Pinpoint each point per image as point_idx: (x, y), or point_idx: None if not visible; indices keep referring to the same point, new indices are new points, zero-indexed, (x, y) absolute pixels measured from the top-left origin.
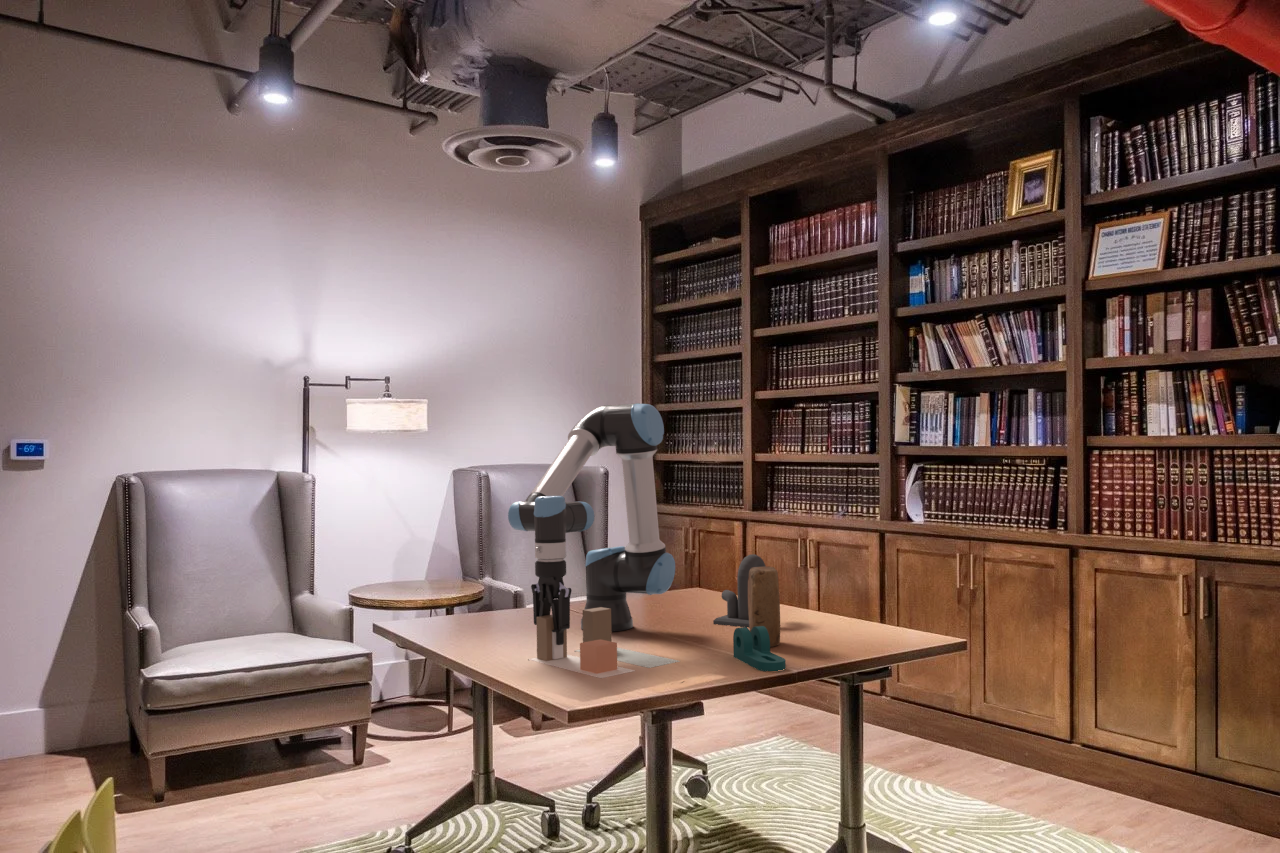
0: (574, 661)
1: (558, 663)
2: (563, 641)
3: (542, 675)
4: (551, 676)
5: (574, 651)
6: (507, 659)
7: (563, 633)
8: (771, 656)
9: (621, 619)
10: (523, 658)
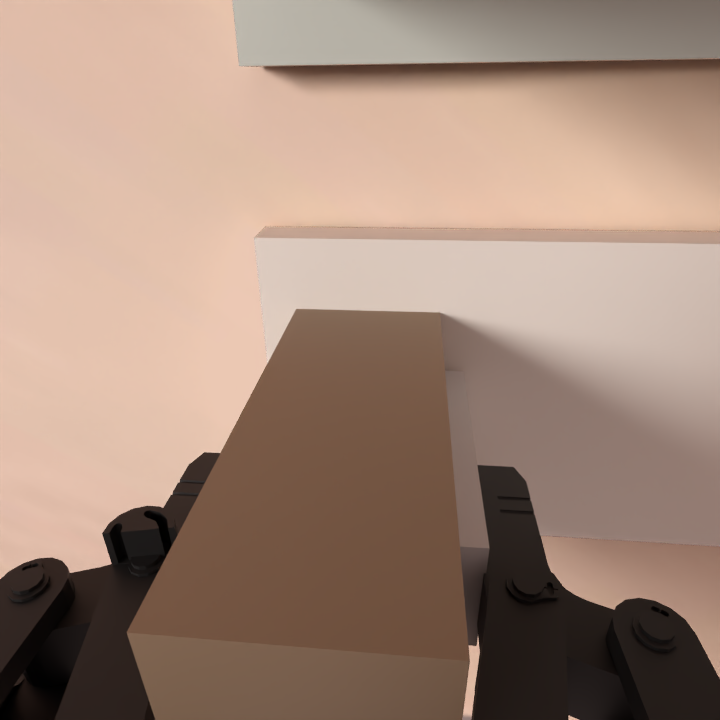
0: (625, 374)
1: (566, 483)
2: (527, 492)
3: (587, 584)
4: (654, 573)
5: (243, 65)
6: (59, 473)
7: (544, 558)
8: None
9: None
10: (83, 400)
